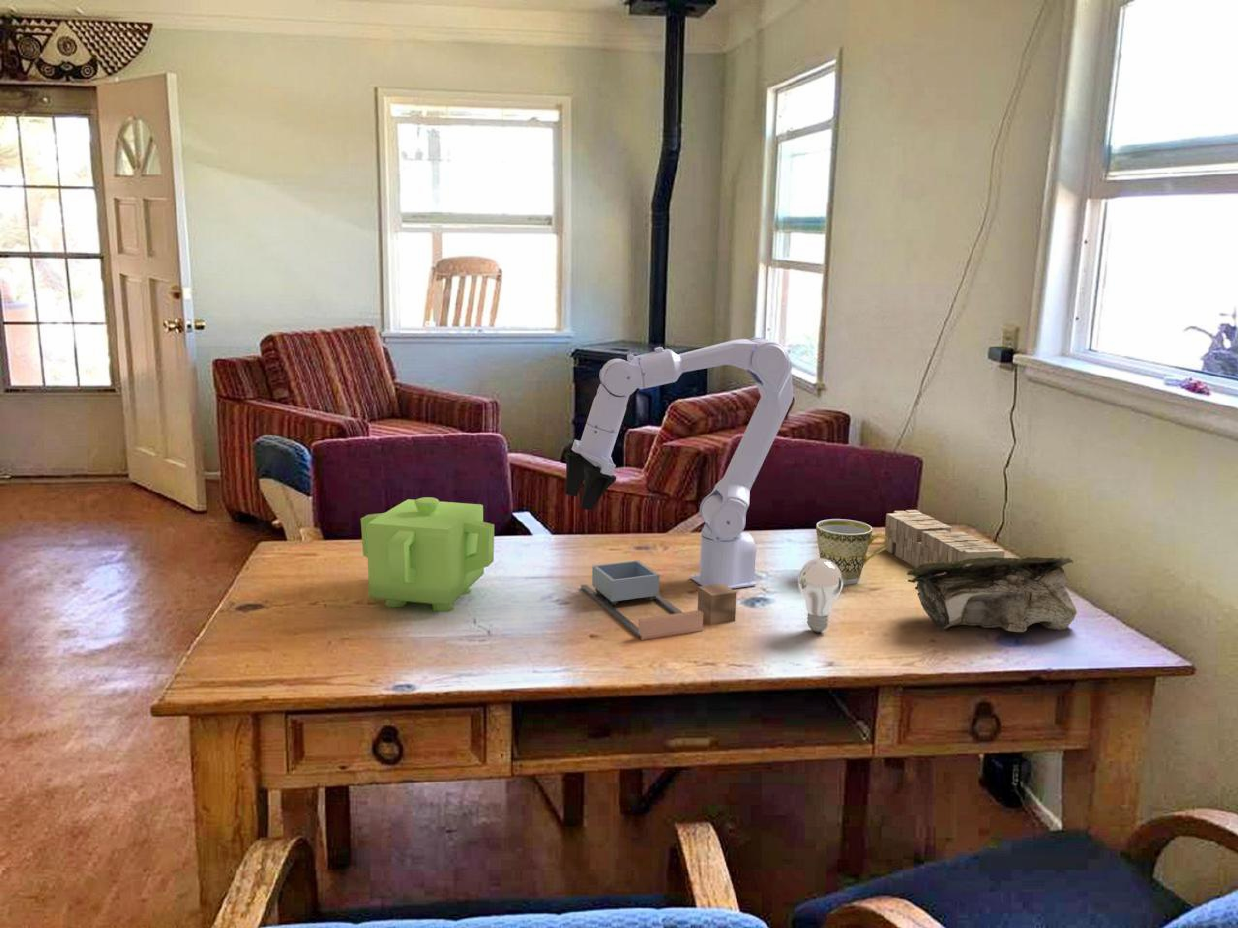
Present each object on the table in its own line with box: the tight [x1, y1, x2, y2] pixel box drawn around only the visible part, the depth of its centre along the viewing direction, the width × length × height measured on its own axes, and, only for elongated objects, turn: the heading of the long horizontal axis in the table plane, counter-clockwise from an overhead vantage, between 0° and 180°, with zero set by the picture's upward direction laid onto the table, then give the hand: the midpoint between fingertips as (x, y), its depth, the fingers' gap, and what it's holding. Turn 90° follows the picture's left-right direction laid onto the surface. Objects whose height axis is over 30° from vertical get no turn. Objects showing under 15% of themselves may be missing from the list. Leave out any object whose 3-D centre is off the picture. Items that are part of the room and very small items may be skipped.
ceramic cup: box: [815, 518, 889, 586], centre depth 182 cm, size 13×10×10 cm
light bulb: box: [797, 557, 844, 634], centre depth 157 cm, size 7×7×12 cm
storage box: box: [360, 496, 495, 613], centre depth 169 cm, size 25×23×17 cm
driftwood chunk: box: [907, 556, 1078, 633], centre depth 160 cm, size 28×13×15 cm
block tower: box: [883, 509, 1006, 575], centre depth 191 cm, size 8×8×29 cm
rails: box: [580, 584, 704, 641], centre depth 167 cm, size 11×25×3 cm, turn 24°
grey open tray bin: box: [591, 560, 660, 606], centre depth 171 cm, size 9×9×5 cm
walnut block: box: [697, 583, 738, 626], centre depth 163 cm, size 4×4×5 cm
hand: (578, 501), depth 174 cm, fingers open, 7 cm apart
